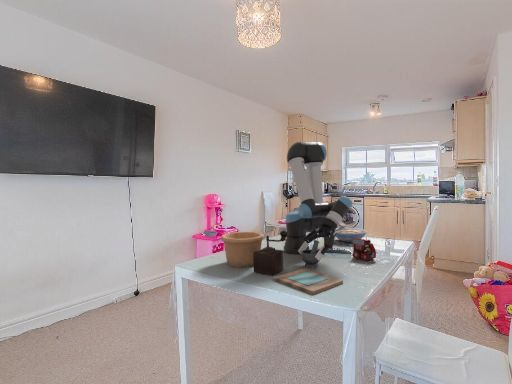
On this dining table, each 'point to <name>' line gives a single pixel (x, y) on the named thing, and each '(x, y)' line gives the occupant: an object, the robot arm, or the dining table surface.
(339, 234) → the ramen bowl
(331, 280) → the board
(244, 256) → the pottery
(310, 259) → the mortar and pestle
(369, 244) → the toy fire truck
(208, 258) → the dining table surface
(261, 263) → the manual coffee grinder
